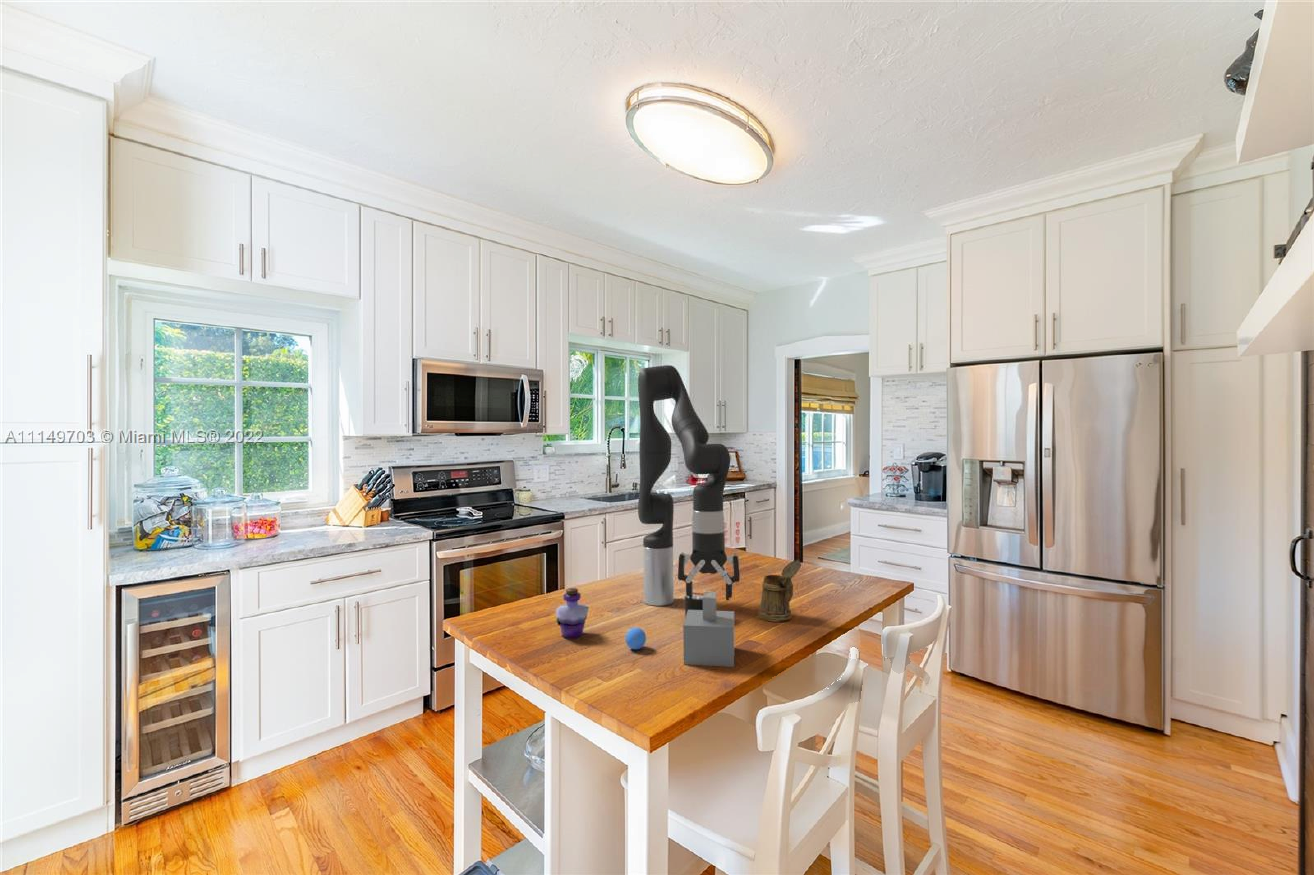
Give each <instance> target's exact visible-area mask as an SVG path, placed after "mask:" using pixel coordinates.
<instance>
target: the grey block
mask: <svg viewBox="0 0 1314 875" xmlns="http://www.w3.org/2000/svg"><path fill="white" fill-rule="evenodd" d="M682 628H683V629H682V630H683V632H682V633H683V634H682V635H683V636H682V637H683V665H688V666H689V665H691V666H692V665H693V666H710V667H729V668H735V611H732V610H731V611H730V610H729V611H728V610H717V595H703V610H688V611H687V615H686V618H685V617H684V622H683V627H682Z"/></svg>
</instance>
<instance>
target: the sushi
mask: <svg viewBox="0 0 1314 875" xmlns="http://www.w3.org/2000/svg"><path fill="white" fill-rule="evenodd" d="M703 595H716V592H714V591H712V590H707V589H706V590H704V589H703V590H702V589H693V598H692V599H689V597H687V595H686V592H685V595H684V601H685V603H684V607H685V609H684V610H685V611H684V612H685V614H684V619H685V618H686V615H687V611H688V610H703ZM716 596H717V595H716Z"/></svg>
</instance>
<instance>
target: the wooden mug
mask: <svg viewBox="0 0 1314 875" xmlns="http://www.w3.org/2000/svg"><path fill="white" fill-rule="evenodd" d="M801 567H802V562H801V560H800V559H798V558H796V559H795V560H793V561H791V562H790V563H789V564H787V565H785V567H784V568H783V569H782V571H781V575H780V574H767V575H764V578H763V581H762V585H761V586H762V590H761V591H762V592H761V598H760V599H761V600H760V607H759V609H758V610H759V611H758V618H759V619H761V620H763V621H768V622H771V621H772V623H774V622H775V623H782V621H784V622H787V621H790V620H791V619H792V616H793V615H792V610H791V607H790V603H791V600H792V597H793V594H794V584H793V582H792V578H793V577H794V576H795V575H797V573H799V571H800V569H801Z"/></svg>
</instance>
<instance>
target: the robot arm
mask: <svg viewBox="0 0 1314 875" xmlns="http://www.w3.org/2000/svg"><path fill="white" fill-rule="evenodd" d="M637 388H638V389H637V392H638V394H637V395H638V406H639V446H638V448H639V450H638V451H639V452H638V453H639V491H638V501H637V502H638V504H637V514H638V520H639V521H640V523H641V524H642V525H643V524H644V525H662V526H661V527H660V528H659V529H657V530H656V531H654V532H652V533H650V534H647V535H645V536H643V539H642V540H643V541H642V542H643V543H642V546H643V547H642V548H643V556H642V557H643V558H642V559H643V562H642V563H643V603H644V604H645V605H649V606H657V607H660V606H666V605H670V604H671V605H672V604H673V603H674V600H675V599H674V598H675V596H674V591H675V590H674V586H675V585H674V508H675V506H674V505H675V504H674V498H673V496H672V495H671V494H670V493H651V492H652V490H653V488H654V486H655V485H656V482H657V481H658V480H659V479H660V477H661V476H662V475H663V474H664V473H665V471H666V470H667V468H668V467H669V465H670V463H671V460H672V439H671V438H672V437H671V436H670V434H669V433H668V431H667V430H666V428H665V427H664V426H663V424H662V423H661V422H660V420H659V419H658V416H657V415H656V412H655V409H654V404H655V401H657V402H658V401H664V400H665V401H666V400H669V399H672V400H674V401H675V404H674V408H673V411H672V414H671V427H672V429H673V431H674V433H675V435H676V437H677V439H678V440H679V442H680V444H681V447H682V448H681V449H682V453H683V460H684V465H685V467H686V468H687V470H688V471H689V472H690V473H692V474H694V475H709V476H708V478H707V480H706V481H705V482H703V483H701V484H698V485H696V486H694V488H693V490H692V520H691V531H692V533H691V534H692V537H691V538H692V539H691V540H692V542H691V543H692V544H691V546H692V549H691V550H692V551H691V554H686V553H684V552H681V553H679V556H678V569H677V570H678V571H677V579H678V581H682V582H685V593H686V595H687V597H689V599H692V598H693V590H694V588H693V587H694V586H693V583H694V582H693V579H694V578H695V577H696V576H697V575H698V573H701V574H703V575H705V574H711V575H716V574H717V573H718V574H719V576H721V578H722V579H723V580H724V581H725V601H729V600H730V599H731V598H732V597H733V584H734V583H739V581H740V580H741V579H740V578H741V577H740V576H741V575H740V562H739V561H740V560H739V554H738V553H734V554H733V555H732V554H731V555H727V554H726V548H725V546H726V545H725V544H726V543H725V542H726V541H725V540H726V539H725V537H726V536H725V535H726V534H725V530H726V529H725V528H726V527H725V514H724V491H725V487H726V483H727V479H728V475H729V470H730V467H731V455H730V451H729V449H728V448H727V447H726V445H724V444H722V443H708V441H709V438H710V437H709V432H708V430H707V428H706V426H705V424H704V423H703V422H702V421H701V418H700V417H699V416H698V414H697V412H696V411H695V409H694V406H693V404H692V401H691V399H690V395H689V394H688V391H687V388H686V386H685V384H684V381H683V379H682V377H681V374H680V373H679V370H678V369H677V368H676V367H675V366H673V365H670V364H667V365H658V366H648V367H643V368H641V369H640V370H639V373H638V378H637ZM689 560H690V562H691V563H692V564H693V565H694V567H693V568H692V569H691V571H690V572H689V574H685V564H686V565H687V563H688V562H689ZM727 561H729V564H730V565H731V566H732V567H733V575H730V574H729V573H728V571H727V569H726V568H725V567H724V565H725V564H726V562H727Z"/></svg>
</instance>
